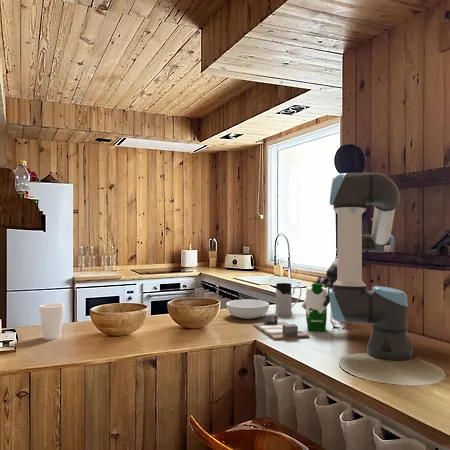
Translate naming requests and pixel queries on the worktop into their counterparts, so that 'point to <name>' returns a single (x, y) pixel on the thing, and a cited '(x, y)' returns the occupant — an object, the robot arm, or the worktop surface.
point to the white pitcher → (284, 298)
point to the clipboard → (279, 329)
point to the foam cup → (52, 319)
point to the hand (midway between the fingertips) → (310, 309)
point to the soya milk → (315, 307)
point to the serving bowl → (247, 308)
